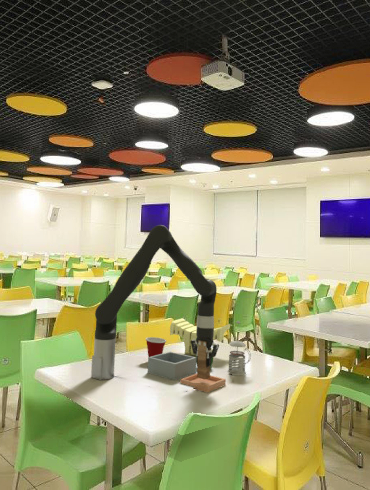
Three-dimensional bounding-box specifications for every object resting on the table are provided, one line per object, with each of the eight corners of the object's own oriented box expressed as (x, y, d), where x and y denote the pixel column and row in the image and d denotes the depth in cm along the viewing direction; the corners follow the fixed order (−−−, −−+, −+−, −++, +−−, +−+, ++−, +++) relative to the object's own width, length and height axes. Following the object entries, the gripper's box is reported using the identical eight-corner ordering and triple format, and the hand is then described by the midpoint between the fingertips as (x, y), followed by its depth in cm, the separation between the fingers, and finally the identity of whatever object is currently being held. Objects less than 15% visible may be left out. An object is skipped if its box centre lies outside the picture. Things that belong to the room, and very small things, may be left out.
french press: (231, 368, 204) (233, 318, 205) (253, 372, 198) (255, 321, 199) (222, 373, 196) (224, 320, 196) (245, 377, 190) (247, 323, 190)
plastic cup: (164, 365, 205) (165, 341, 205) (143, 364, 205) (144, 340, 205) (166, 359, 216) (167, 337, 216) (145, 359, 216) (146, 336, 216)
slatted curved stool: (169, 353, 231) (170, 321, 231) (181, 347, 245) (182, 318, 245) (219, 361, 218) (220, 327, 218) (228, 354, 232) (230, 323, 233)
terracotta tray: (207, 392, 167) (207, 386, 167) (180, 385, 175) (180, 379, 175) (225, 384, 178) (225, 379, 178) (199, 378, 186) (199, 372, 186)
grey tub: (174, 382, 178) (175, 364, 179) (147, 374, 188) (148, 357, 188) (195, 374, 191) (196, 357, 191) (169, 367, 201) (170, 351, 201)
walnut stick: (204, 379, 174) (206, 341, 174) (197, 377, 176) (198, 340, 177) (209, 377, 177) (211, 340, 177) (202, 375, 179) (203, 339, 180)
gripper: (187, 324, 178) (185, 364, 178) (214, 329, 170) (212, 370, 169) (196, 322, 184) (195, 360, 184) (223, 327, 176) (222, 367, 175)
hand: (203, 365), depth 177 cm, fingers closed on walnut stick, 4 cm apart
